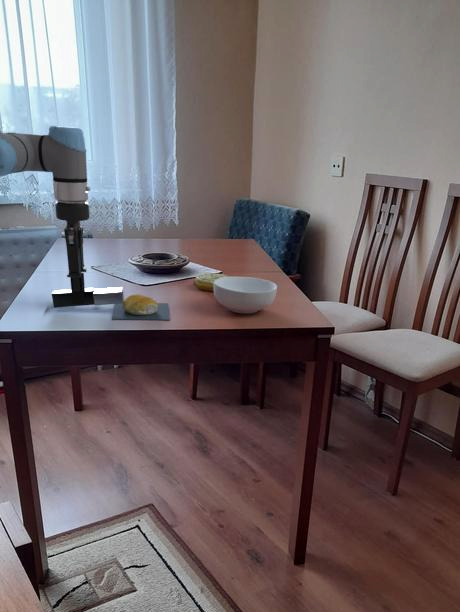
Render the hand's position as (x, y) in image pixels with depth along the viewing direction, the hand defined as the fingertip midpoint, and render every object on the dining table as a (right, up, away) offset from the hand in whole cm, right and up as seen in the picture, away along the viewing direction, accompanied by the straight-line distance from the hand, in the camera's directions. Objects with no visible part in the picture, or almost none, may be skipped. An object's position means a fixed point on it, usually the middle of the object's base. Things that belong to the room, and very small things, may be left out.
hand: (78, 300), depth 138 cm
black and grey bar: (+2, -1, +1) cm, 3 cm away
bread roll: (+15, -2, +3) cm, 15 cm away
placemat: (+15, -2, +3) cm, 16 cm away
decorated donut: (+33, +9, +28) cm, 44 cm away
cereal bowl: (+41, -1, +10) cm, 43 cm away
